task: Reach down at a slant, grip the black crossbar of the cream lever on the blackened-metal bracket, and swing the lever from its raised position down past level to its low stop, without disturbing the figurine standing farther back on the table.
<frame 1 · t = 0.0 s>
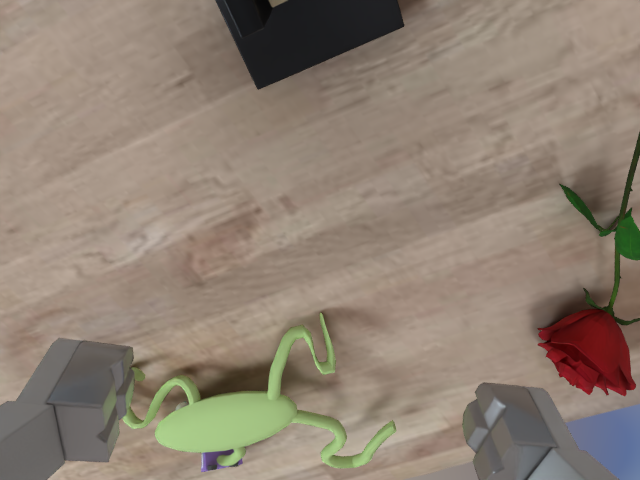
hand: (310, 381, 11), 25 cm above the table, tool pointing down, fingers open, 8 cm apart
figurine: (261, 389, 48), on the table
flower: (574, 251, 40), on the table
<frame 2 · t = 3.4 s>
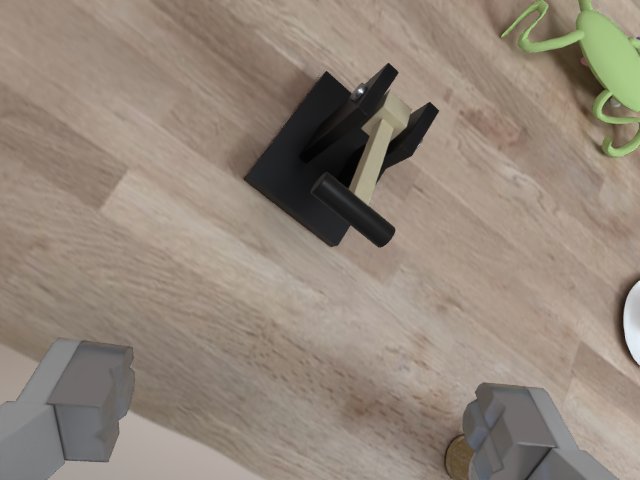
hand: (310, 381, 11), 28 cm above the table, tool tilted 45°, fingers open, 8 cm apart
bracket: (325, 160, 43), on the table
figurine: (574, 53, 59), on the table
lever: (373, 155, 29), point 13 cm above the table, hinge at 28.0°
sprinkles bottle: (460, 457, 45), on the table
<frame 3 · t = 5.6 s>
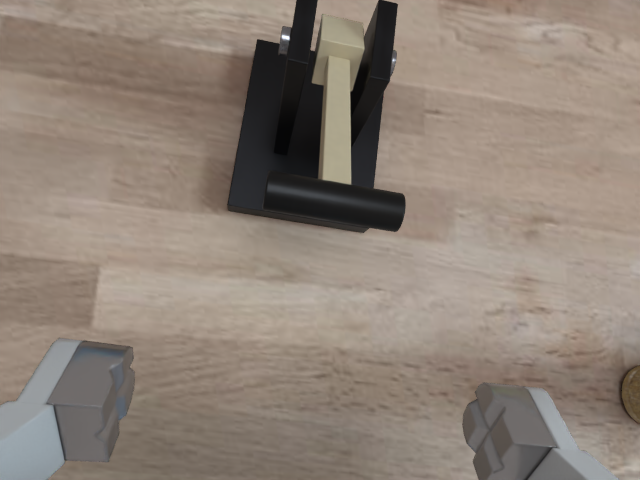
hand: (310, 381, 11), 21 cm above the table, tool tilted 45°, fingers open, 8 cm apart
bracket: (309, 139, 34), on the table
lever: (335, 109, 20), point 13 cm above the table, hinge at 28.0°
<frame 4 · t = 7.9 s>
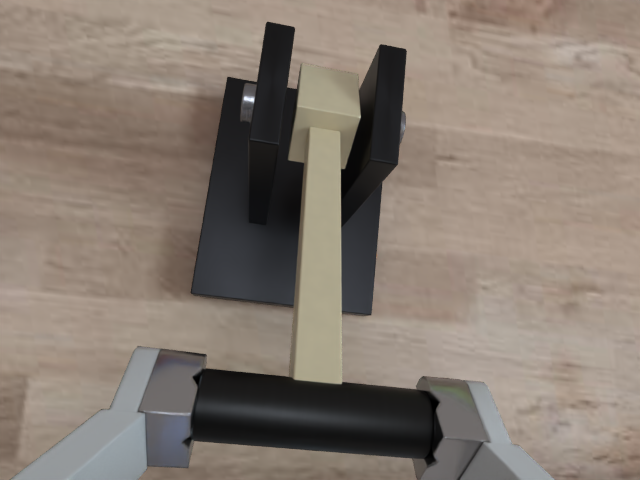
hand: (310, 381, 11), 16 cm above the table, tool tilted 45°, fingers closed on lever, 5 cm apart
bracket: (294, 199, 28), on the table
lever: (319, 217, 14), point 13 cm above the table, hinge at 28.0°, touching gripper
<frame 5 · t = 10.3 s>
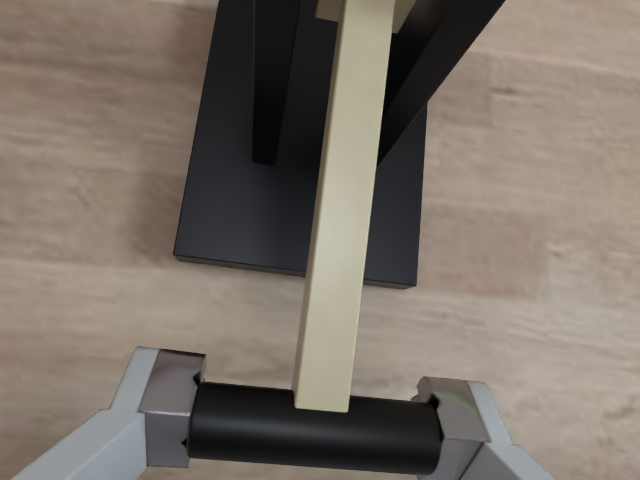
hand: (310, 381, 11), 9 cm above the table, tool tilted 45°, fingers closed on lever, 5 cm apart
bracket: (311, 138, 21), on the table
lever: (348, 157, 10), point 10 cm above the table, hinge at -7.1°, touching gripper
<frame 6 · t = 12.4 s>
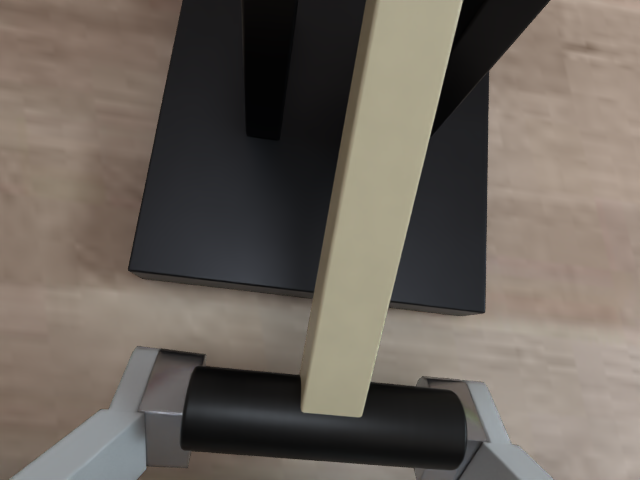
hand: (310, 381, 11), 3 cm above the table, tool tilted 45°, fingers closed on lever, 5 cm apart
bracket: (328, 108, 15), on the table
lever: (392, 93, 6), point 8 cm above the table, hinge at -33.2°, touching gripper
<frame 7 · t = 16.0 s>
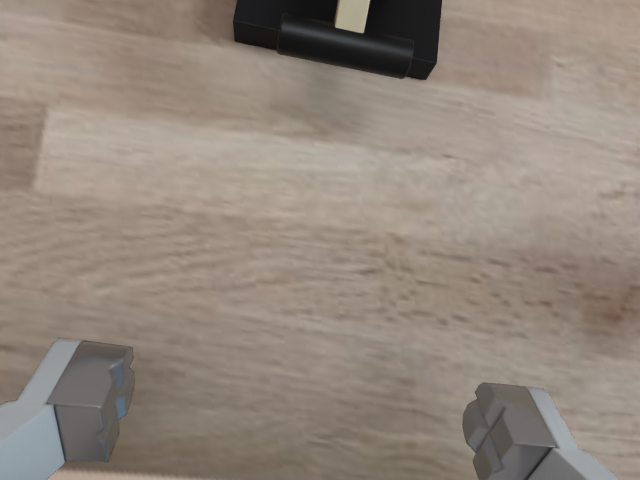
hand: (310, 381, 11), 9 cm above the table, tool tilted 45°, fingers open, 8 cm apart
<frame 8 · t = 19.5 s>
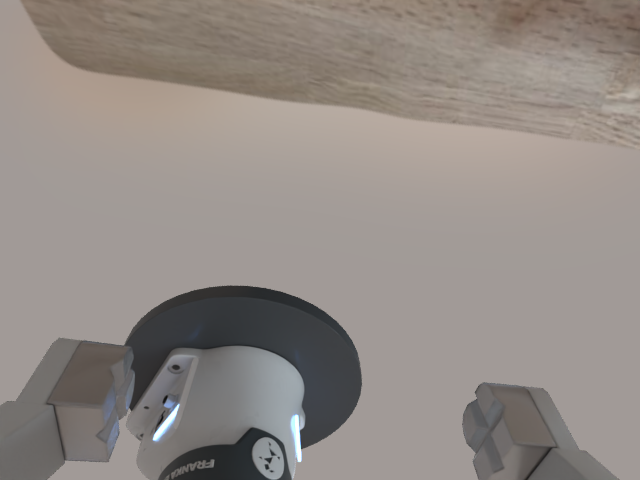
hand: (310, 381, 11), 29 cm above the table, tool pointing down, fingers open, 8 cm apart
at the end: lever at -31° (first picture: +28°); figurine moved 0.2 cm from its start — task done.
